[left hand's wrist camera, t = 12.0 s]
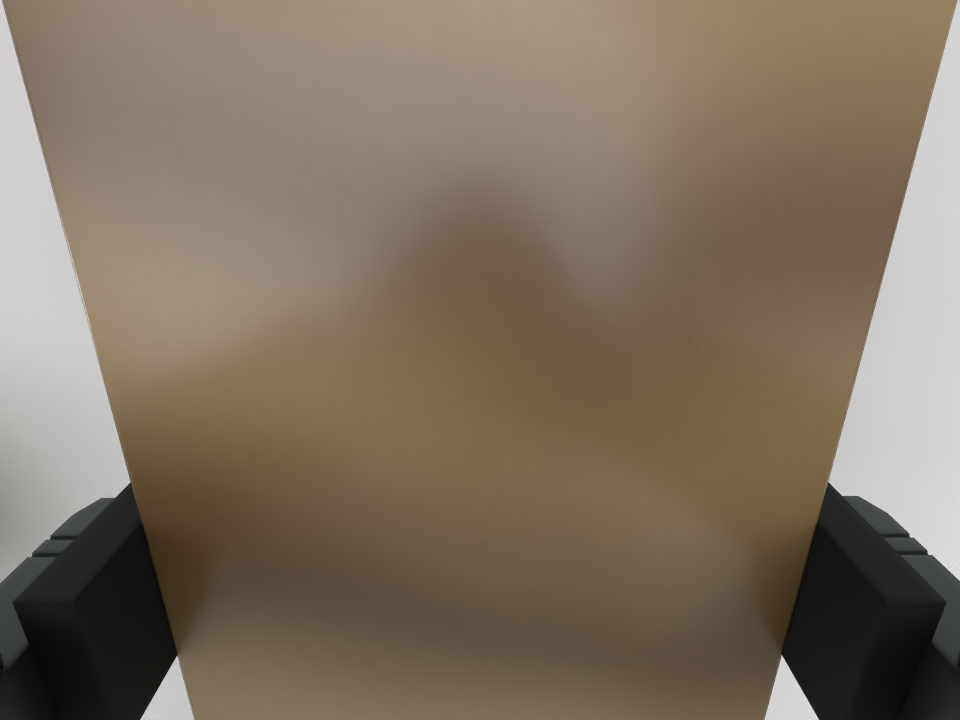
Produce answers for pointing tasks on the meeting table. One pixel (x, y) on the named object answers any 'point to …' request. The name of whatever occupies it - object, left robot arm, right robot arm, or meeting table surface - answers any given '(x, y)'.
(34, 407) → the meeting table surface
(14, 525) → the meeting table surface
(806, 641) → the left robot arm
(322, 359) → the cabinet
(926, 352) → the meeting table surface
